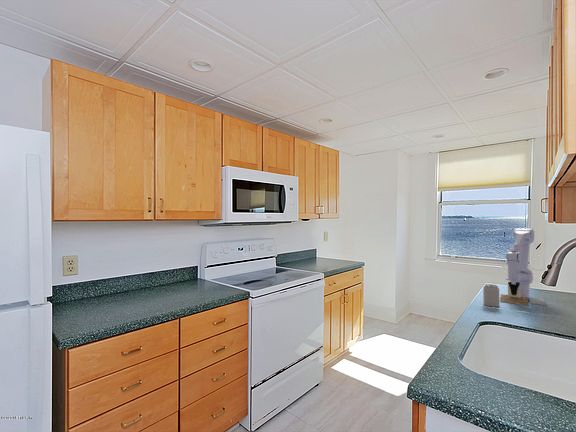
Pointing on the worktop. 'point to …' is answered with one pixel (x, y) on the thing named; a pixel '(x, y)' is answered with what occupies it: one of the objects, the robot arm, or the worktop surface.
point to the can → (491, 295)
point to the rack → (514, 300)
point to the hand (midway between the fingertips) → (514, 294)
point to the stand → (537, 301)
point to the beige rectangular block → (511, 293)
